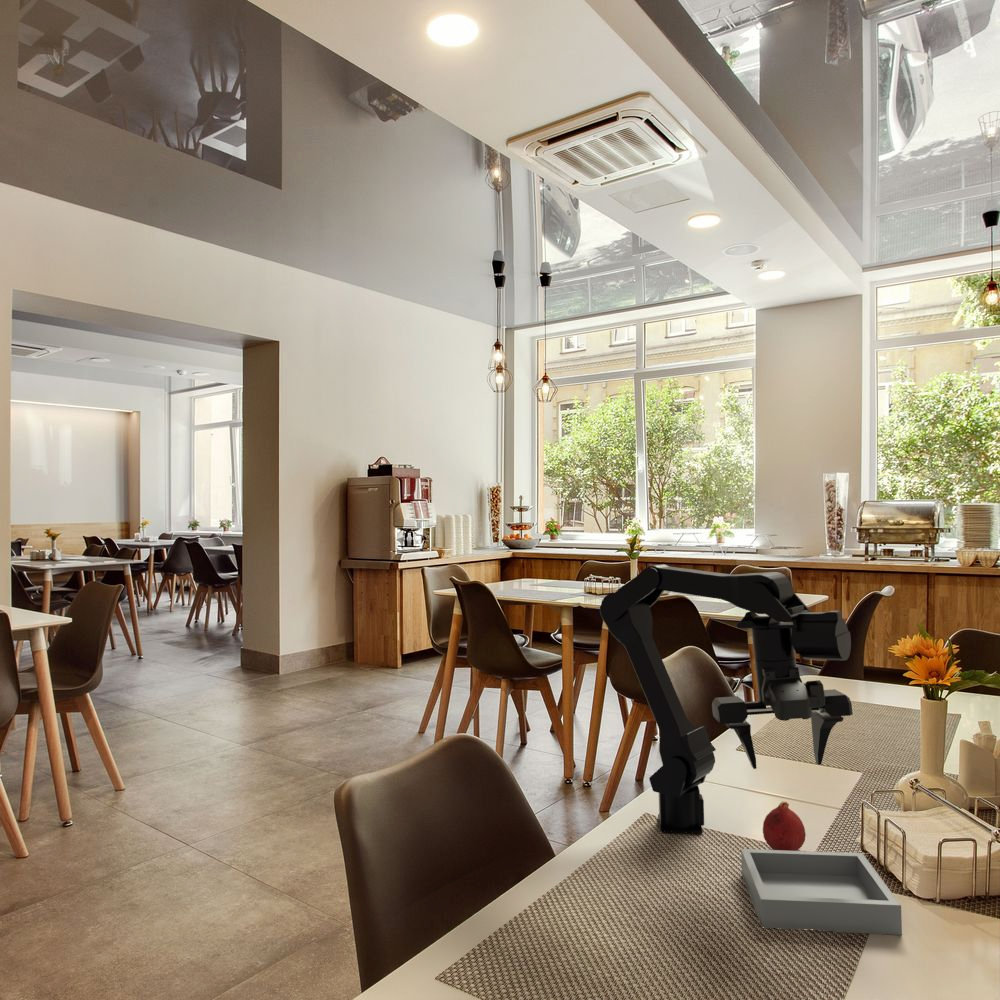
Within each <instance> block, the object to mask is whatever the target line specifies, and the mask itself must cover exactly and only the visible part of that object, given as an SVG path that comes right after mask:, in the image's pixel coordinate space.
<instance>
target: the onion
mask: <svg viewBox="0 0 1000 1000" xmlns="http://www.w3.org/2000/svg"><path fill="white" fill-rule="evenodd" d="M789 806H790V803H789V802H788V801H785V800H784V801H781V802H780V803H779V804H778V806H777V807H775V808H773V809H772V810H771V811H769V813H767V814H766V816H765V818H764V820H763V823H762V835H763V838H764V841H765V842H766V844H767V845H768V846H769V848H770V849H771V850H786V851H800V849H801V848H803V845H804V843H805V842H806V837H807V836H806V835H807V834H806V828H805V826H804V824H803V821H802V819H801V818H800V817H799V815H798V814H796V812H794V810H792V809H791V808H789Z"/></svg>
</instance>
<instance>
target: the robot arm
mask: <svg viewBox="0 0 1000 1000" xmlns="http://www.w3.org/2000/svg"><path fill="white" fill-rule="evenodd" d="M664 592H672V593H678V594H683V595H685V594H686V595H691V596H696V597H704V598H711V599H717V600H722V601H725V602H728V603H730V604H731V605H733V606H735V607H737V608H740V609H742V610H745V611H747V612H745V614H744V616H743V618H742V619H740V621H739V622H738V623H737V624H736V628H737V629H751V638H752V647H753V648H752V649H753V656H754V664H753V666H754V671H755V675H756V676H755V677H756V678H755V679H756V683H757V685H756V686H757V691H756V694H757V698H758V700H755V701H754V700H753V701H744V700H743V699H742V698H741V697H739V696H738V695H737V696H736V695H734V696H723V697H714V699H713V700H712V703H711V708H712V709H711V710H712V716H713V718H714V719H715V720H716V721H717V722H718V723H719V724H722V725H725V726H726V727H727V728H728V729H730V730H733V731H734V732H735V734H736V735H737V737H738V739H739V741H740V743H741V746H742V747H743V750H744V752H745V754H746V756H747V759H748V761H749V763H750V765H751V768H753V769H754V770H756V769H757V758H756V753H755V748H754V744H753V739H752V730H751V729H752V726H751V724H750V723H749V722H748V721H747V719H748V717H749V716H752V715H766V714H774V716H775V718H776V719H777V720H779V721H783V722H784V721H785V722H786V721H789V720H795V719H801V720H809V719H810V720H811V732H812V743H813V745H812V746H813V755H814V759H815V763H816V764H817V765H818V766H819V765H822V763H823V759H824V756H825V750H826V747H827V744H828V740H829V737H830V734H831V731H832V730H833V728H834V727H835V726H836V725H837V723H841V722H843V721H844V717H846V716H848V717H849V716H852V715H853V713H854V712H853V705H852V701H851V698H850V697H848V695H846V694H845V693H843V692H841V691H839V690H837V689H835V688H834V689H824V684H823V682H822V681H821V680H817V679H816V680H807V681H805V682H803V681H802V678H801V677H800V676H801V675H800V671H799V666H797V660H796V654H797V655H800V657H801V658H802V659H803V660H819V661H820V660H823V661H847V660H848V659H849V657H850V654H851V650H852V649H851V648H852V638H851V632H850V631H849V629H848V625H847V622H846V621H845V620H844V619H843V612H842V611H841V610H830V611H824V612H823V611H820V612H818V611H815V612H814V611H813V612H812V611H811V610H810V608H809V607H808V606H807V605H806V603H804V601H803V600H802V599H801V598H800V597H799V596H798V595H797V594H796V593H795V591H794V588H793V585H792V581H790V580H789V578H788V577H787V575H785V574H783V573H781V572H779V571H778V572H777V571H766V572H752V573H751V572H749V573H748V572H747V573H739V574H732V573H730V574H729V573H722V572H715V571H707V570H700V569H699V570H698V569H690V568H686V567H685V568H684V567H676V566H669V565H667V564H664V563H662V564H654V565H648V566H646V567H644V569H643V570H642V571H640V573H639V574H637V575H636V576H635V577H634V578H632V579H630V580H629V581H627V582H626V583H625V584H624V585H622V586H621V587H619V588H618V589H617V590H616V591H614V592H610V593H607V594H606V595H605V596H604V597H603V599H602V601H601V604H600V605H599V613H600V616H601V617H600V618H602V621H603V622H604V624H605V625H606V627H607V629H608V630H609V632H610V634H611V636H613V637H614V638H615V639H616V640H617V641H618V642H619V643H620V644H621V645H623V647H624V648H625V650H626V652H627V655H628V657H629V660H630V663H631V664H632V667H633V670H634V672H635V674H636V677H637V678H638V681H639V684H640V686H641V689H642V692H643V694H644V696H645V698H646V700H647V704H648V706H649V708H650V711H651V713H652V716H653V718H654V720H655V722H656V725H657V728H658V730H659V731H658V733H659V741H658V752H659V756H660V760H661V763H662V766H660V767H659V768H658V770H656V771H655V772H654V773H653V774H652V775H650V776H649V778H648V780H649V783H650V785H651V789H652V791H653V792H655V793H658V814H657V819H658V825H659V830H660V833H666V834H667V833H669V834H672V833H673V834H703V833H704V832H703V826H704V825H705V808H704V807H705V804H704V803H705V801H704V797H703V795H702V794H701V792H700V791H701V790H700V788H699V785H701V784H703V783H705V779H706V777H707V775H708V774H710V773H711V772H712V771H713V769H714V766H715V763H716V758H715V753H714V752H715V751H717V749H716V747H715V746H714V745H713V744H712V742H711V740H710V738H709V733H708V730H707V728H706V727H705V725H703V726H700V727H699V728H697V727H696V726H695V725H693V724H692V722H691V721H690V720H689V719H688V718H687V716H686V715H687V714H686V713H685V711H684V710H685V709H684V708H683V705H682V703H681V701H680V699H679V696H678V694H677V692H676V690H675V687H674V685H673V682H672V679H671V678H670V675H669V673H668V670H667V668H666V665H665V664H664V661H663V659H662V657H661V654H660V652H659V649H658V647H657V645H656V642H655V640H654V636H653V630H654V629H653V628H654V627H653V625H654V623H653V622H654V619H653V615H652V610H651V607H652V606H653V605H654V604H656V603H657V601H659V599H660V598H661V596H662V595H663V593H664ZM753 769H752V770H753Z"/></svg>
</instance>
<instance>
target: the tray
mask: <svg viewBox="0 0 1000 1000" xmlns="http://www.w3.org/2000/svg"><path fill="white" fill-rule="evenodd" d="M740 851H741V855H740V856H741V858H740V859H741V876H742V878H743V881H744V883H745V887H746V889H747V892H748V894H749V897H750V900H751V903H752V906H753V908H754V911H755V913H757V914H756V916H758V917H757V919H758V922H759V921H760V922H759V924H761V925H760V926H761V927H760V928H762V927H764V928H763V929H765V928H776V929H775V930H786V929H809V930H810V929H813V930H825V931H824V932H827V931H835V932H834V933H847V934H848V933H851V934H853V933H854V934H870V935H871V934H872V935H892V936H893V935H894V936H895V935H896V936H902V935H903V927H902V925H903V922H902V921H903V920H902V918H903V917H902V905H901V903H900V902H899V900H898V899H897V898H896V896H895V895H894V894H893V892H892V891H891V890H890V889H889V887H888V886H887V884H886V882H884V880H883V879H882V877H881V876H880V875H879V873H878V872H877V871H876V870H875V868H874V866H873V865H872V864H871V863H870V862H869V860H868V858H866V855H864V853H863V852H862V853H861V852H839V851H810V850H807V851H806V850H797V851H786V850H773V849H758V848H757V849H755V848H752V849H751V848H741V849H740ZM777 928H779V929H777ZM780 928H781V929H780Z"/></svg>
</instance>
